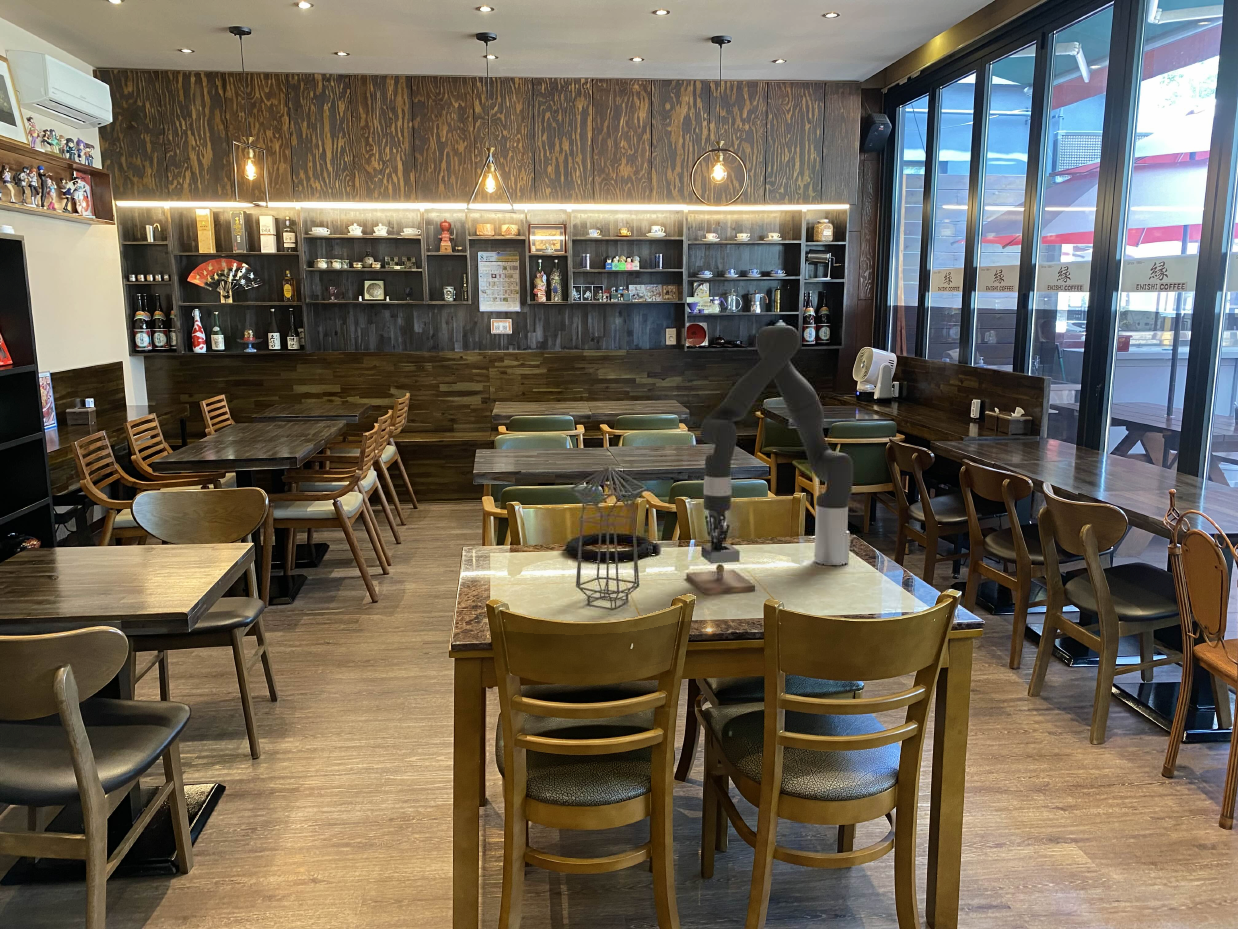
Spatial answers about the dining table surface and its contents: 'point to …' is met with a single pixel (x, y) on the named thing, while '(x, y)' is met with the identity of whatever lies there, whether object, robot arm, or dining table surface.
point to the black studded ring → (643, 550)
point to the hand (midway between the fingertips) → (716, 553)
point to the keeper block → (720, 581)
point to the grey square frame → (720, 554)
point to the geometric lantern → (592, 495)
